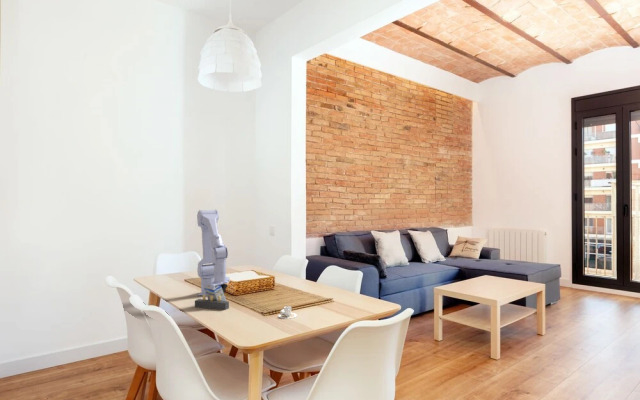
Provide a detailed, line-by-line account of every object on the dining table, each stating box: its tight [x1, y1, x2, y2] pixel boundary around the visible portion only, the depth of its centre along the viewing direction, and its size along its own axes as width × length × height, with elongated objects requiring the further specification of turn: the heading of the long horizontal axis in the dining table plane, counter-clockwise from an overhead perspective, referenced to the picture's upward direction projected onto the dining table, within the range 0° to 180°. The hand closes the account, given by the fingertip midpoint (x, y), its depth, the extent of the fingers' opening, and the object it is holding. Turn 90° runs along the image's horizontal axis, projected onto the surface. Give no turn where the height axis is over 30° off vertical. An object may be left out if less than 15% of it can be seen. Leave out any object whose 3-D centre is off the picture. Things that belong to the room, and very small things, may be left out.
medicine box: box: [204, 284, 227, 301], centre depth 181 cm, size 8×4×9 cm, turn 51°
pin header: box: [194, 295, 230, 311], centre depth 177 cm, size 3×16×6 cm, turn 73°
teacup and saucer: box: [277, 305, 298, 320], centre depth 164 cm, size 9×8×4 cm
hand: (220, 299), depth 185 cm, fingers closed, pressing on medicine box
